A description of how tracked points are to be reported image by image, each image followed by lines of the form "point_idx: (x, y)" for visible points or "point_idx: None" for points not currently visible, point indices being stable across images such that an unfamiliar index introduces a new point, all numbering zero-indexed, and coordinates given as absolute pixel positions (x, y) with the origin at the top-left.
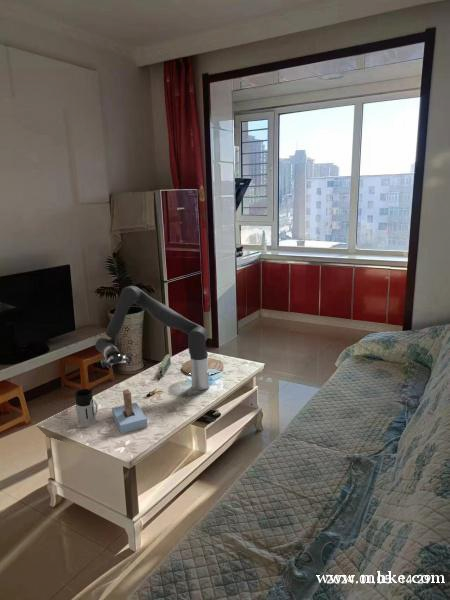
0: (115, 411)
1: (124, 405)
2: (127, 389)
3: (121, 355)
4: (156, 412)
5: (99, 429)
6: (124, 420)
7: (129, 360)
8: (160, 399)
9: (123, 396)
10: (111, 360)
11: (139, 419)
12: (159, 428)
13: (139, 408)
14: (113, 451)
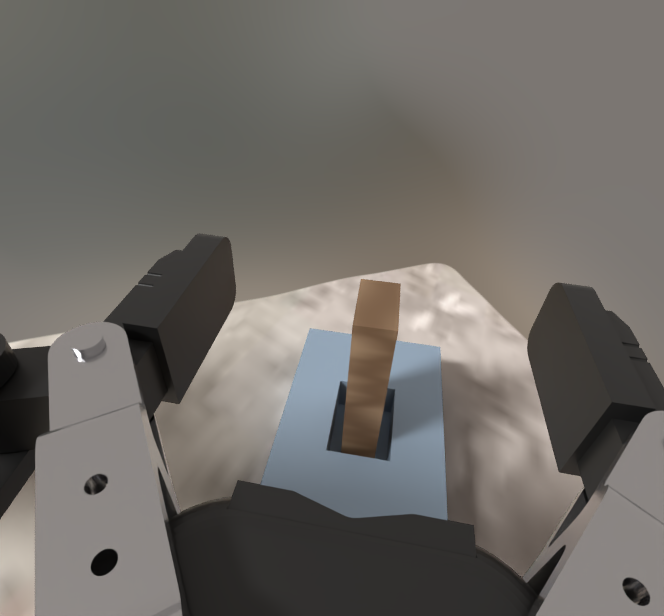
0: (431, 491)
1: (382, 412)
2: (360, 322)
3: (39, 575)
4: (190, 437)
5: (533, 471)
6: (409, 370)
7: (153, 269)
8: (13, 591)
9: (390, 369)
10: (536, 597)
11: (341, 339)
12: (277, 325)
13: (282, 428)
14: (481, 307)
